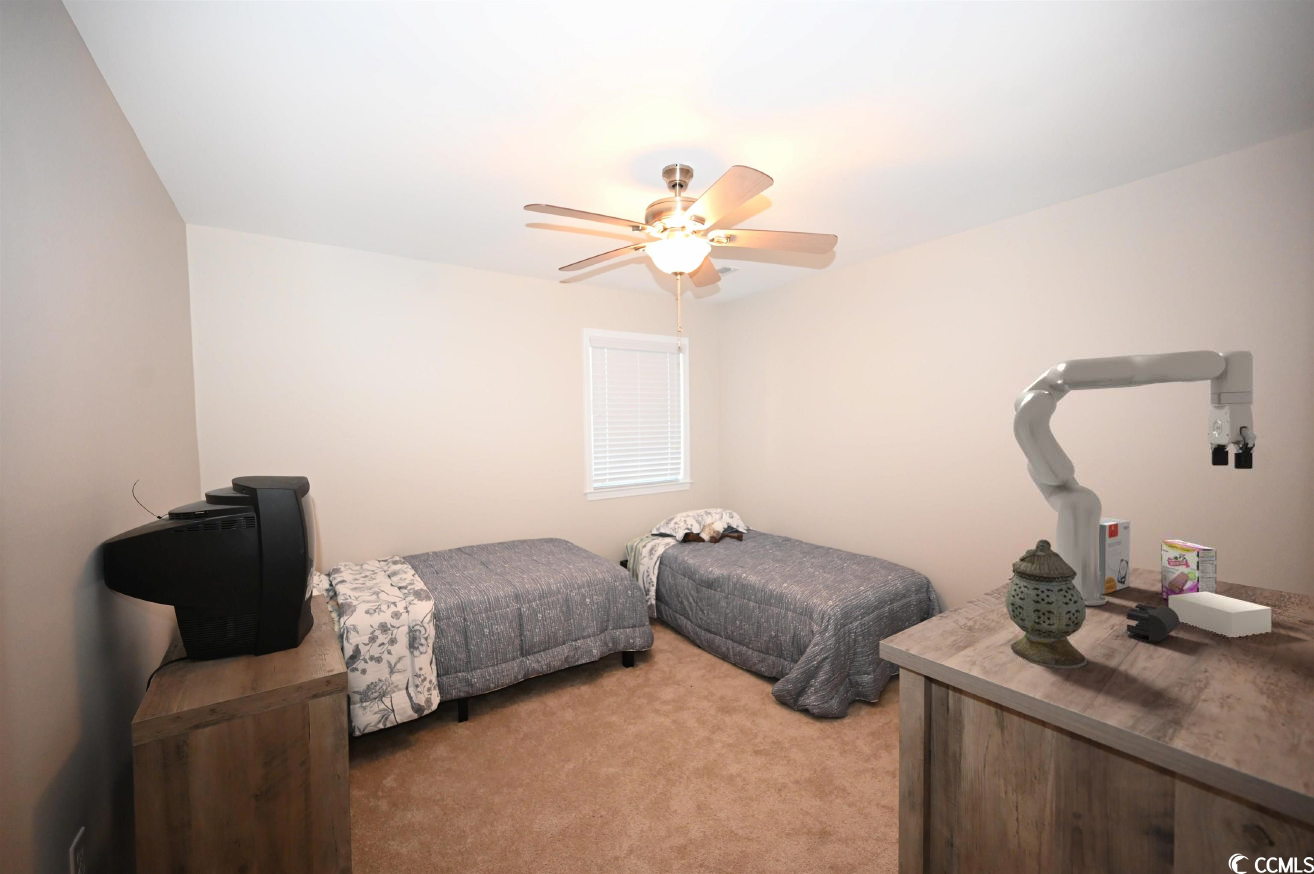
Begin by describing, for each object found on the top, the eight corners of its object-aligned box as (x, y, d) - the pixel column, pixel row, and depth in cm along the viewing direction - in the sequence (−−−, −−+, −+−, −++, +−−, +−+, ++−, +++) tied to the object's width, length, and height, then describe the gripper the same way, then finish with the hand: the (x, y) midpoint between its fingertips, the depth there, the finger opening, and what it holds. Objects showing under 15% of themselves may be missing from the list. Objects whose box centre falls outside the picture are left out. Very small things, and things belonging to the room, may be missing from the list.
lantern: (1046, 672, 113) (1045, 549, 112) (991, 645, 127) (990, 535, 126) (1104, 664, 115) (1103, 544, 115) (1043, 638, 129) (1043, 531, 129)
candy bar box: (1159, 598, 155) (1159, 539, 154) (1178, 598, 154) (1178, 539, 154) (1197, 612, 143) (1198, 548, 143) (1217, 612, 143) (1218, 548, 143)
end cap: (1166, 648, 123) (1166, 617, 123) (1126, 638, 129) (1126, 609, 128) (1179, 636, 129) (1179, 607, 128) (1140, 628, 134) (1140, 600, 134)
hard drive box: (1105, 595, 158) (1104, 525, 158) (1074, 588, 165) (1073, 521, 164) (1130, 586, 166) (1130, 519, 165) (1100, 580, 172) (1100, 516, 172)
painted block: (1231, 638, 127) (1231, 612, 127) (1168, 619, 140) (1168, 595, 140) (1271, 633, 130) (1271, 607, 130) (1205, 614, 142) (1205, 591, 142)
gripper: (1193, 401, 152) (1194, 464, 152) (1232, 399, 135) (1232, 470, 136) (1229, 400, 149) (1229, 464, 149) (1273, 398, 133) (1273, 470, 133)
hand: (1231, 467), depth 143 cm, fingers open, 9 cm apart
